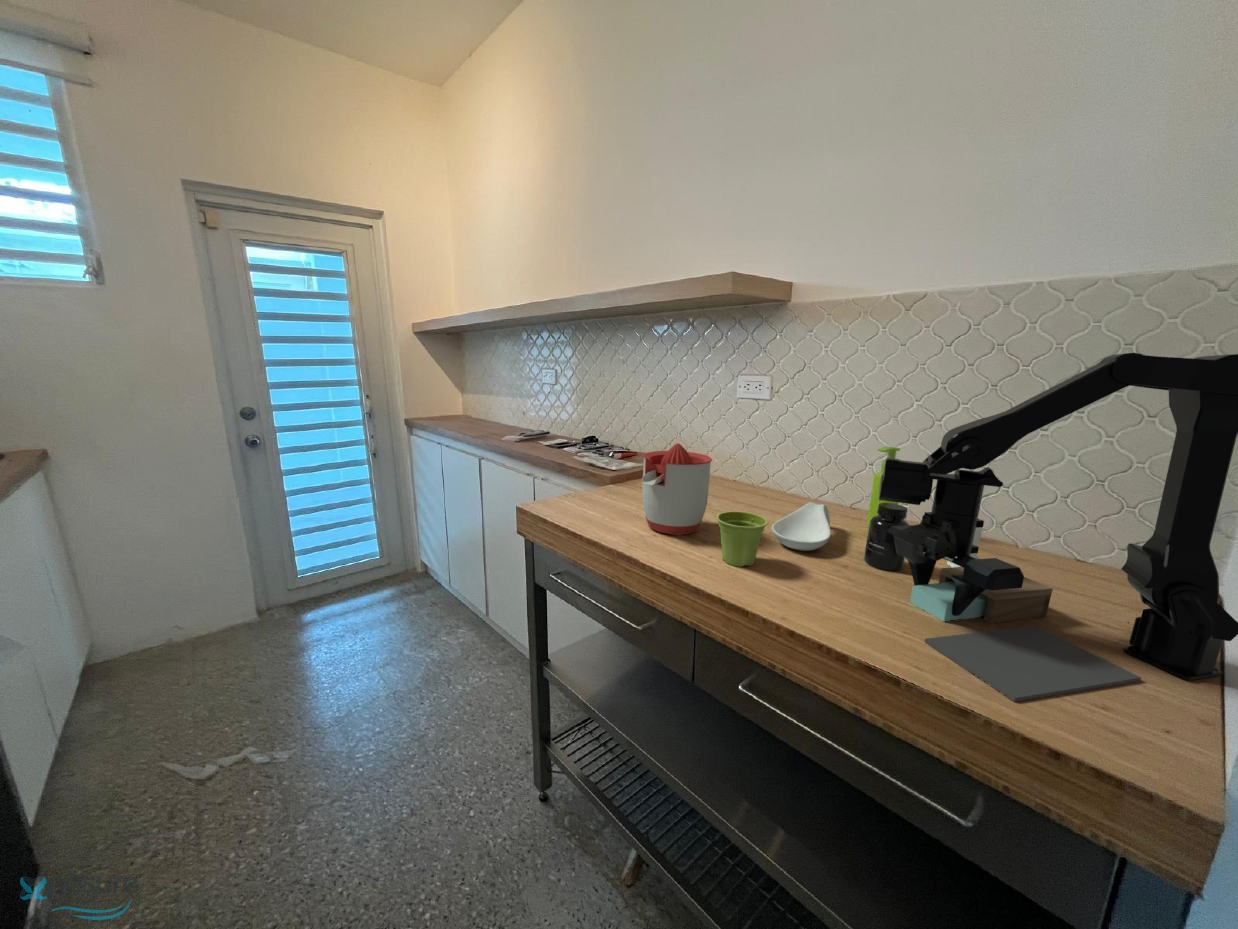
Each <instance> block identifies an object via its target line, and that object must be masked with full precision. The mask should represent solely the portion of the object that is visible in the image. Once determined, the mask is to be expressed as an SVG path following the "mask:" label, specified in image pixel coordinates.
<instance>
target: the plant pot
mask: <svg viewBox="0 0 1238 929" xmlns="http://www.w3.org/2000/svg"><path fill="white" fill-rule="evenodd" d="M716 520H717V522H718V527H719V528H720V530H719V531H720V539H721V540H720V541H721V542H720V543H721V544H720V545H721V557H722V560H724V561H725V563H727V564H728V565H731V566H733V567H734V566H735V567H739V568H741V567H745V566H748V567H750V566H753V565H754V564H755V562H756V557H757V554H758V550H759V545H760V542H761V539H762V538H761V537H762V534H763V532H764V530H765V527H766V526H767V525H768V519H767V518H765V517H763V516H762V515H759V514H757V513H753V512H749V511H748V512H747V511H735V510H734V511H733V510H731V511H725V512H720V513H718V514H717V515H716Z"/></svg>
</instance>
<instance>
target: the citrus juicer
mask: <svg viewBox="0 0 1238 929" xmlns="http://www.w3.org/2000/svg"><path fill="white" fill-rule="evenodd" d="M642 458H643V473H642V478H641V482H642V506H643V510H644V514H645V519H646V522H647V524H648V527H649V528H650V529H652V530H654V531H655V532H658V533H663V534H669V535H672V536H679V535H688V534H692V533H695V532H697V531H698V530H699V528H700V526H701V525H702V521H703V518H704V515H705V513H706V510H707V506H708V499H709V486H710V475H711V474H710V473H711V463H712V461H713V459H712V458H711V457H710V456H709V455H707V454H702V453H697V452H690V451H687V450H686V449H685V447H683V445H682V444H680V443H676V444H675V443H674V445H673V446H671V447H670V449H669V450H656V451H648V452H645V453H643V455H642Z"/></svg>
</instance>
